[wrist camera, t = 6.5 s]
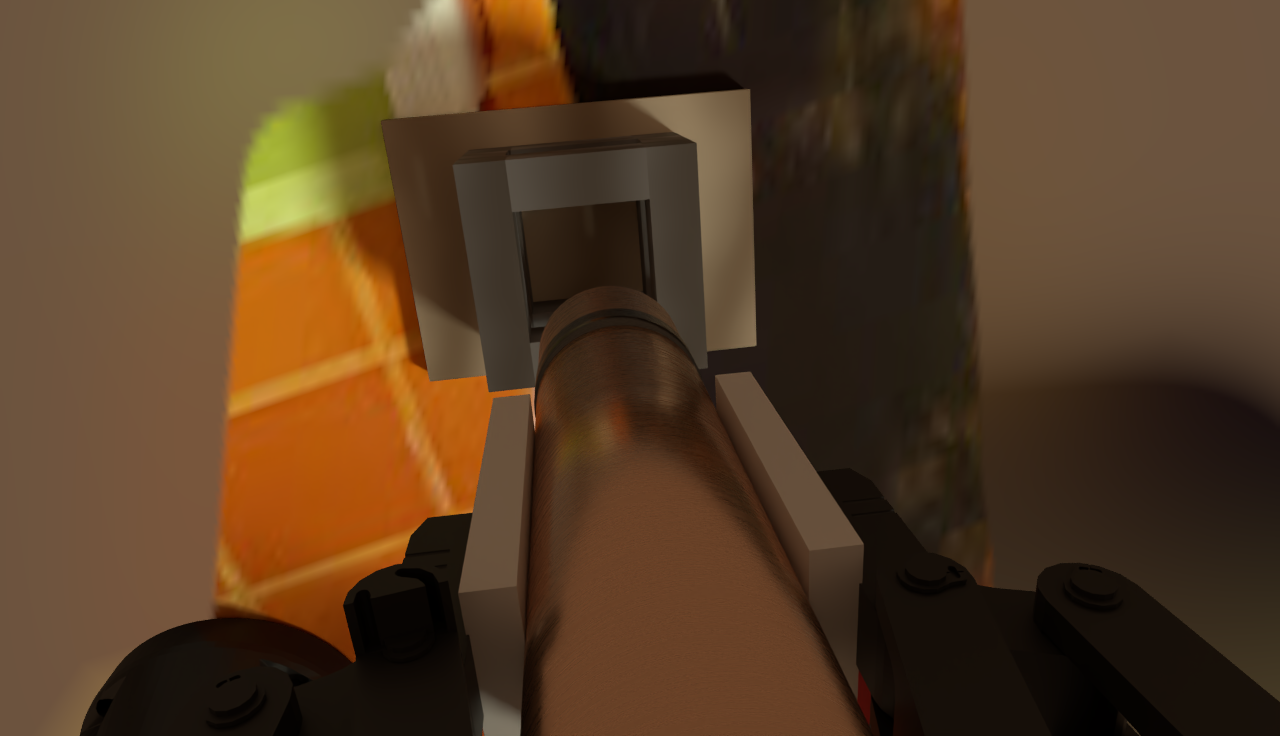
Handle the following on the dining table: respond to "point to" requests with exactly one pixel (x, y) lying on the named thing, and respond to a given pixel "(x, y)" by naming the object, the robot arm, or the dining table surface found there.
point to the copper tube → (657, 552)
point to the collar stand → (574, 222)
